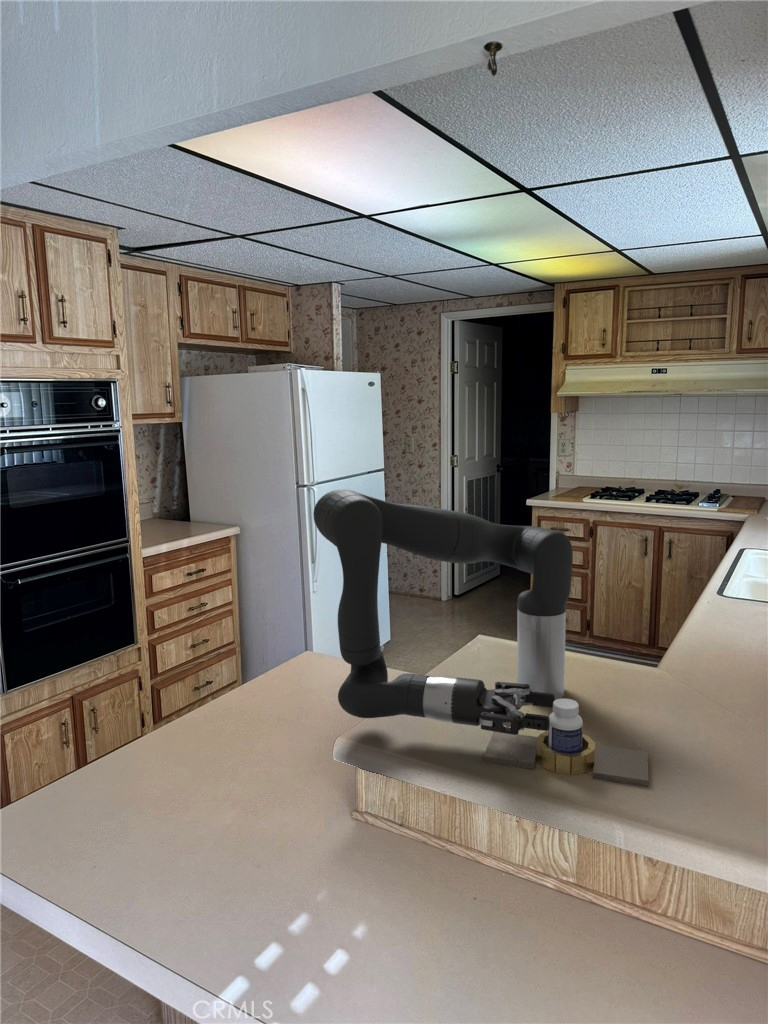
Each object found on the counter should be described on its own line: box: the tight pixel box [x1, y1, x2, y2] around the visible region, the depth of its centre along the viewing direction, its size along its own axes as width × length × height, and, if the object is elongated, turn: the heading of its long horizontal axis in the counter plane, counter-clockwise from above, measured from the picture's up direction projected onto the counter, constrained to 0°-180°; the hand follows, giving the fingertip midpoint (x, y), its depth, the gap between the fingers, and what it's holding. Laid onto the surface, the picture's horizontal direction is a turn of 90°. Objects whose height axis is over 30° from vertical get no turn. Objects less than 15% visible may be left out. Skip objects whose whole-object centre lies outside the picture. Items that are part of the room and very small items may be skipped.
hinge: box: [483, 731, 650, 788], centre depth 112 cm, size 9×25×3 cm, turn 71°
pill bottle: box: [548, 698, 584, 754], centre depth 112 cm, size 5×5×10 cm
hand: (552, 711), depth 112 cm, fingers open, 8 cm apart
